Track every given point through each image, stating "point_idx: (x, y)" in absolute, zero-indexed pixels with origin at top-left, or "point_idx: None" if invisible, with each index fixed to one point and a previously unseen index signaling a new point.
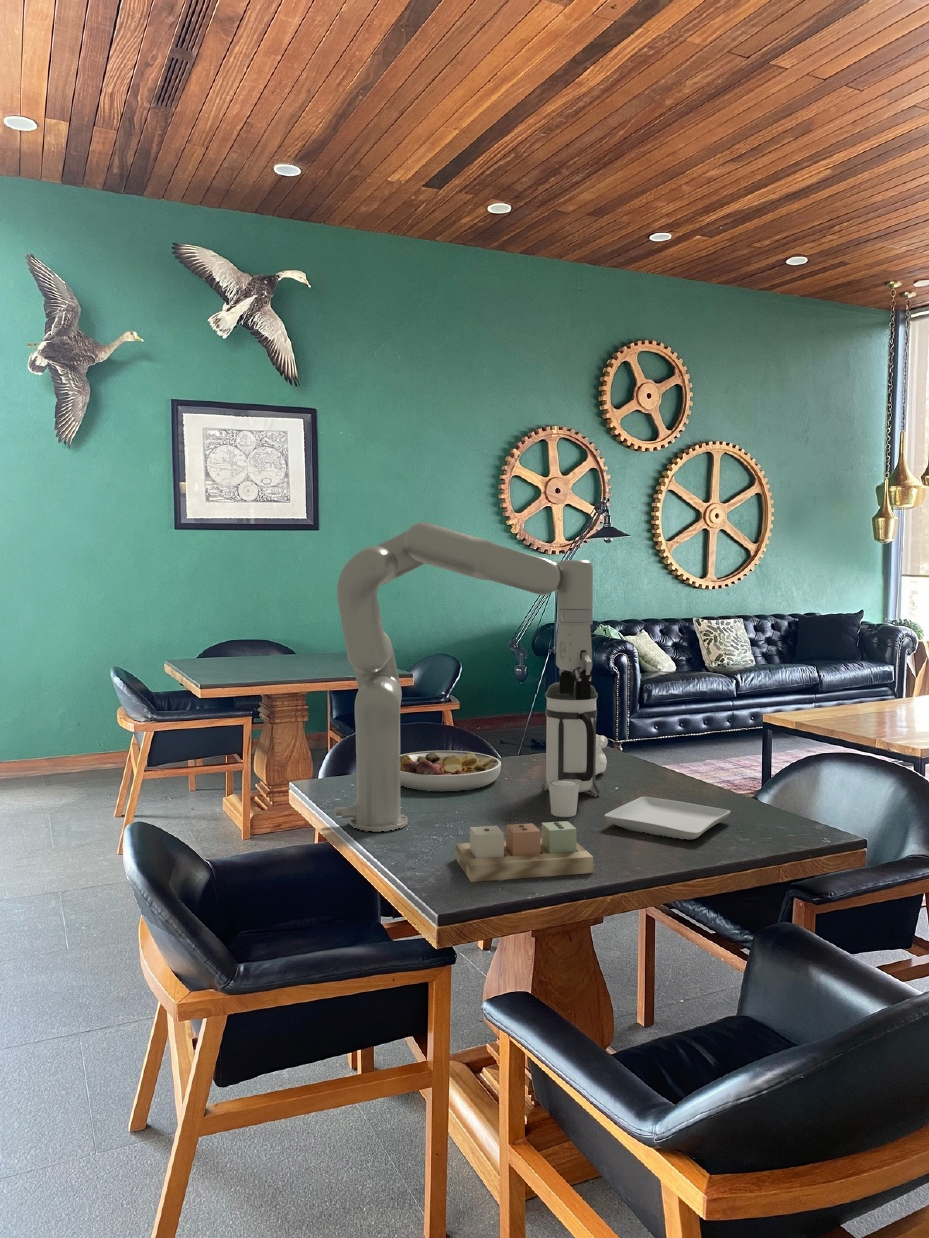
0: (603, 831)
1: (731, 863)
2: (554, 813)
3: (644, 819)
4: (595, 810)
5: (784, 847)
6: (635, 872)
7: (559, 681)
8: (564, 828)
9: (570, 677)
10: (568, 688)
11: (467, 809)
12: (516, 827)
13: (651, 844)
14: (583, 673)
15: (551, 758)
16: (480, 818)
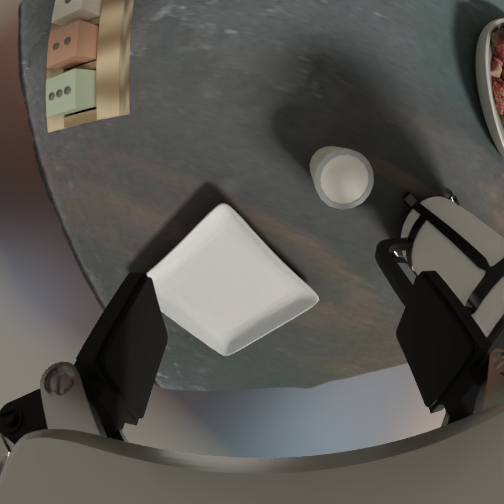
0: (213, 190)
1: (89, 281)
2: (323, 147)
3: (245, 266)
4: (330, 222)
5: None
6: (59, 177)
7: (470, 314)
8: (49, 100)
9: (434, 390)
10: (413, 328)
11: (390, 34)
12: (66, 34)
13: (146, 232)
14: (10, 410)
15: (457, 215)
16: (335, 28)
